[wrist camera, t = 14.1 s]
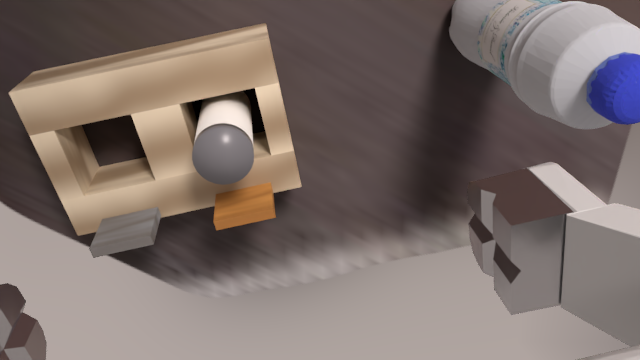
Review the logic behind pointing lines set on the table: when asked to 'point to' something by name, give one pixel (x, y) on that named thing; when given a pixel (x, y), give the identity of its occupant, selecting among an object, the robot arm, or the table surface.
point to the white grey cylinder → (224, 139)
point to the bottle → (556, 56)
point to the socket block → (156, 135)
